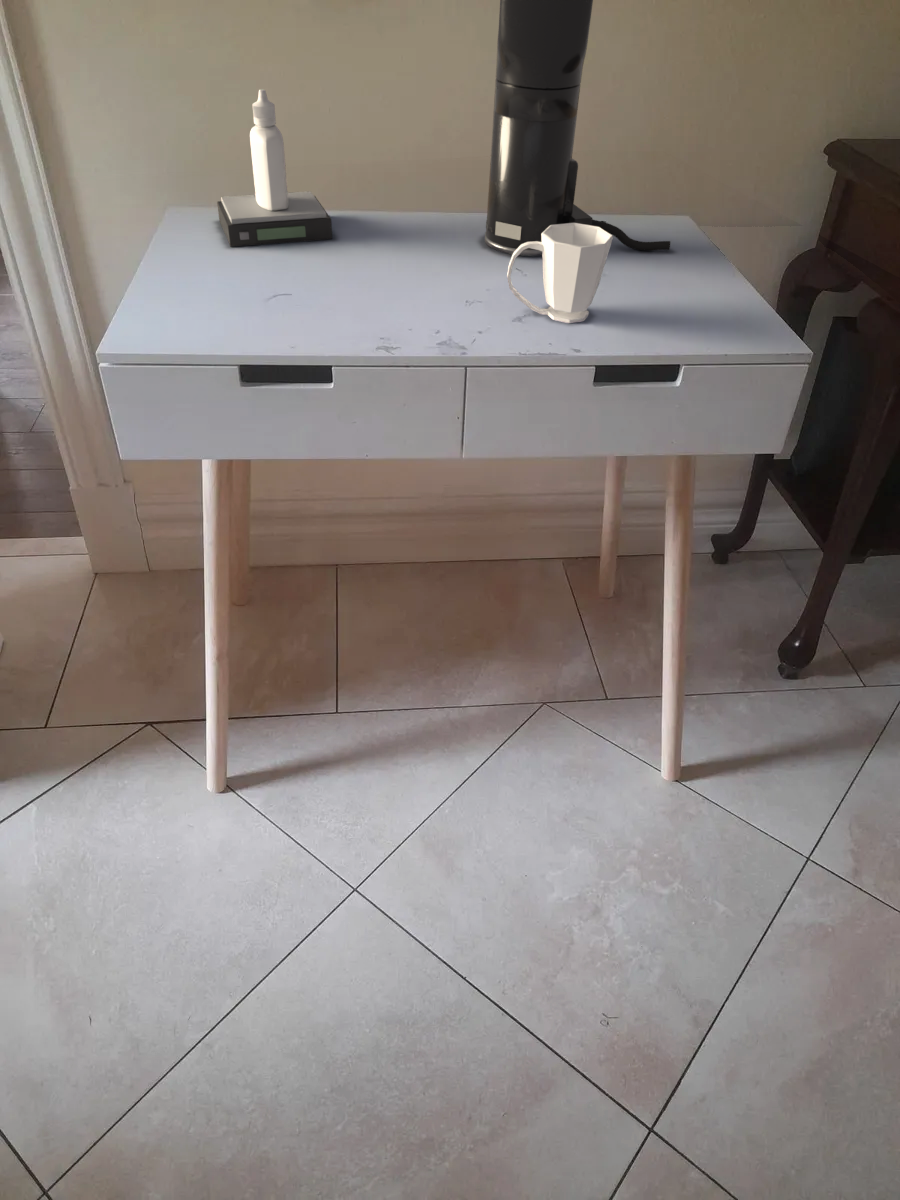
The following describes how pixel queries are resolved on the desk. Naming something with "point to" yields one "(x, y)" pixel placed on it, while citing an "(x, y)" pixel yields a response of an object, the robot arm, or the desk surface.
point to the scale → (273, 220)
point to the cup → (568, 269)
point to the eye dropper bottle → (268, 156)
